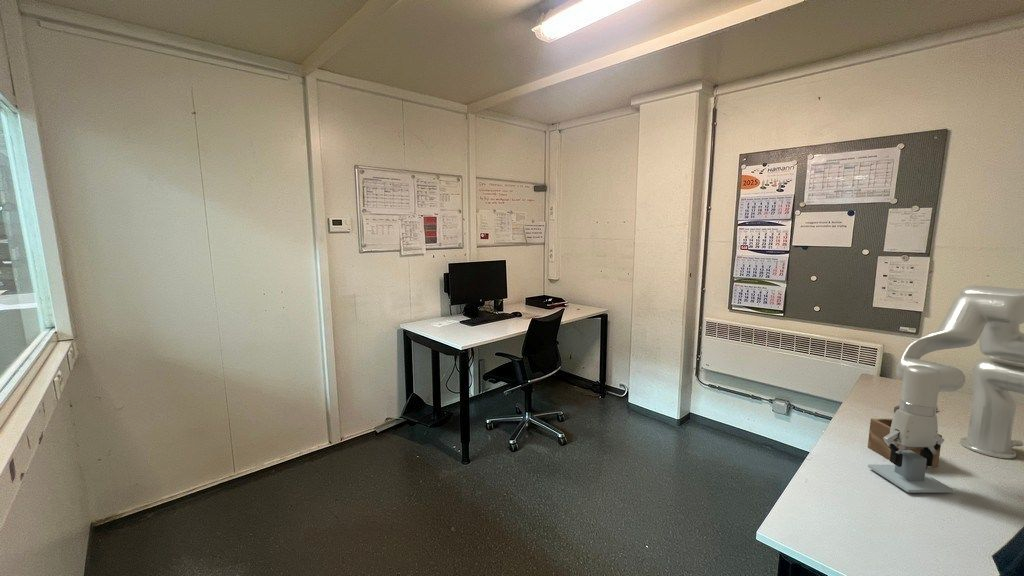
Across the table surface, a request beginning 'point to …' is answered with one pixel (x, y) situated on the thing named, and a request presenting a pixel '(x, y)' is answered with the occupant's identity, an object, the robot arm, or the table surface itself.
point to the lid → (911, 474)
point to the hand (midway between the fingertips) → (910, 464)
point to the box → (878, 445)
